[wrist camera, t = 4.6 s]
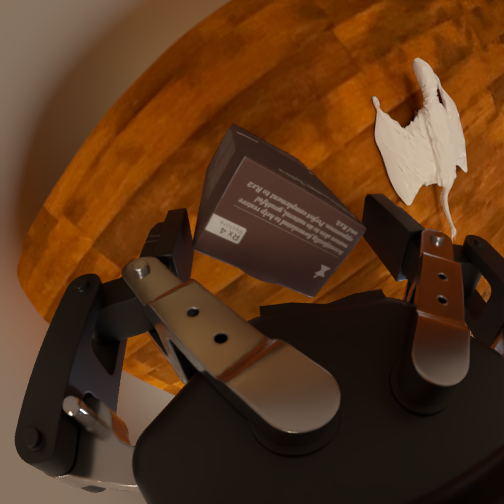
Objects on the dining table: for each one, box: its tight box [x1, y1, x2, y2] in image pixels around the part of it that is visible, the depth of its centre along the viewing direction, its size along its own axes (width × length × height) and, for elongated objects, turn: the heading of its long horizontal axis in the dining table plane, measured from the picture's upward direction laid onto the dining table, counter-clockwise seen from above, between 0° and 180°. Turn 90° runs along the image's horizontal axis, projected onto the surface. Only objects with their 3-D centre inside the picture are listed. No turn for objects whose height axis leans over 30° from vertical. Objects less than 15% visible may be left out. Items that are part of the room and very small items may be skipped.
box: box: [192, 124, 366, 298], centre depth 16 cm, size 6×4×12 cm
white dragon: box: [372, 58, 467, 241], centre depth 19 cm, size 18×10×4 cm, turn 29°
